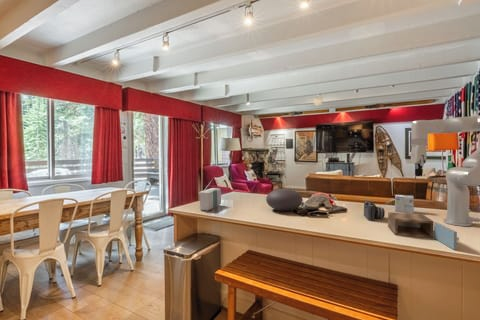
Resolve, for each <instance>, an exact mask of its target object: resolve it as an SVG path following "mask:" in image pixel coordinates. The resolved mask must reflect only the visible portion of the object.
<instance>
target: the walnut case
mask: <svg viewBox="0 0 480 320" xmlns="http://www.w3.org/2000/svg"><path fill="white" fill-rule="evenodd" d="M434 222H435V221H434V220H432V219H430V218H429V217H427V215H425V214H423V213H422V214H421V213H405V212H388V213H387V227H388V229H389V230H390V231H391V232H392V233H393V234H394V236H403V237H412V238H413V237H415V238H416V237H417V238H430V239H433V238H434Z"/></svg>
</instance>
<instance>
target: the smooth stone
mask: <svg viewBox="0 0 480 320" xmlns="http://www.w3.org/2000/svg"><path fill="white" fill-rule="evenodd" d="M265 201H266V203H267V205H268V206H269V207H270V208H271V209H274V210H277V211H281V212H288V211H289V212H290V211H294V210H296V209H298V208H300V206H302V204H303V201H304V200H303V196H302V194H300V193H299V192H298V191H296V190H294V189H290V188H277V189H274V190H272V191H270V192H269V193H268V194H267V195H266V198H265Z"/></svg>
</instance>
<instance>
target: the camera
mask: <svg viewBox="0 0 480 320" xmlns="http://www.w3.org/2000/svg"><path fill="white" fill-rule="evenodd" d="M363 216H364V217H365V219H366V220H367V221H369V222H375V219H383V218H384V217H385V209H384V208H383V207H381V206H376V204H375V203H374V201H369V200H368V199H367V200H364V202H363Z"/></svg>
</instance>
